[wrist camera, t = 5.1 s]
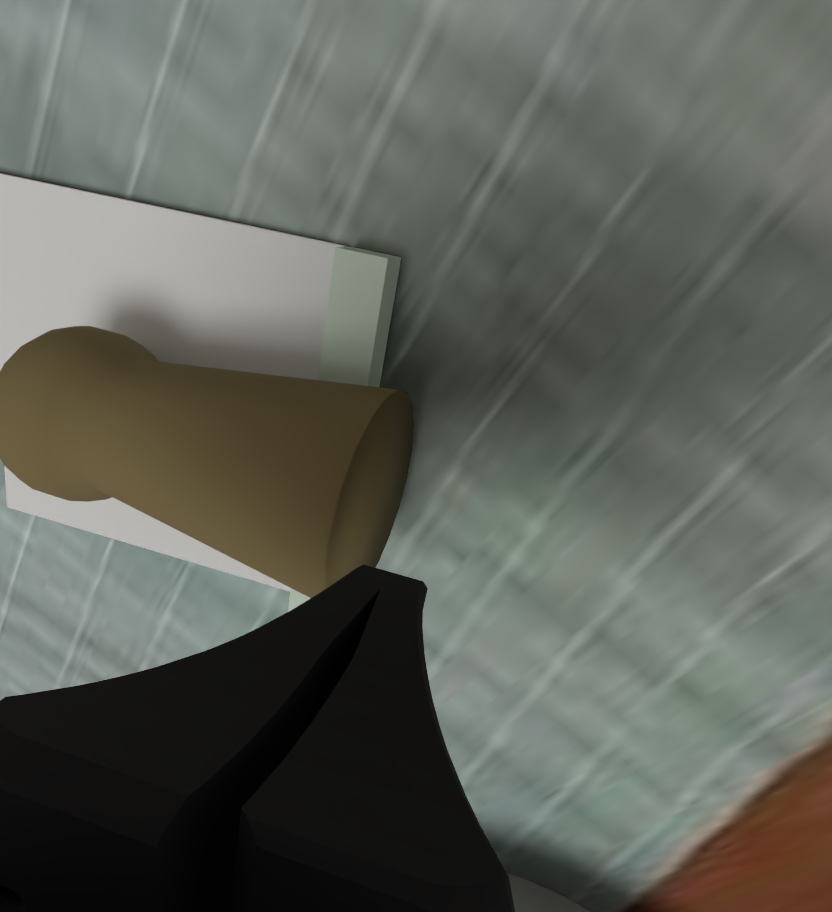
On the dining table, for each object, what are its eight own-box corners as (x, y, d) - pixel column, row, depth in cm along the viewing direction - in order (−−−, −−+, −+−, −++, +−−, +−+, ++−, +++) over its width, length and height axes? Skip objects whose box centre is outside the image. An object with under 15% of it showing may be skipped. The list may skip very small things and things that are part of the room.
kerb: (401, 257, 18) (388, 258, 17) (343, 600, 22) (329, 624, 21) (352, 246, 18) (335, 247, 17) (304, 588, 22) (288, 611, 21)
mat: (347, 246, 18) (343, 246, 18) (300, 587, 22) (296, 593, 22) (-4, 172, 20) (-15, 170, 20) (15, 502, 24) (7, 507, 24)
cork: (300, 579, 13) (-108, 440, 15) (354, 629, 18) (48, 522, 20) (400, 342, 15) (32, 255, 17) (421, 451, 20) (139, 373, 23)
